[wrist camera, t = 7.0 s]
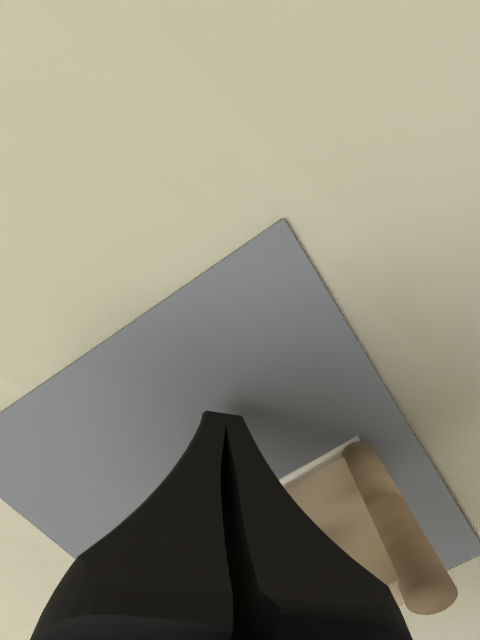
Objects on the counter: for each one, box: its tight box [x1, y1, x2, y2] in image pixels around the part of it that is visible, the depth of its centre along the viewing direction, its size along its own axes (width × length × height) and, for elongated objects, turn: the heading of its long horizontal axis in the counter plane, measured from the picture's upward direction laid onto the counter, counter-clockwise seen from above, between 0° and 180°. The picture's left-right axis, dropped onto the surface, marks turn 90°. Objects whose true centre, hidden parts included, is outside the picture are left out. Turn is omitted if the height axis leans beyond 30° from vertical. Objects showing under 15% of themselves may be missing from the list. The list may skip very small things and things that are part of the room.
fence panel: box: [286, 441, 458, 615], centre depth 12 cm, size 10×1×5 cm, turn 126°
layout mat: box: [0, 218, 480, 571], centre depth 16 cm, size 16×19×1 cm
